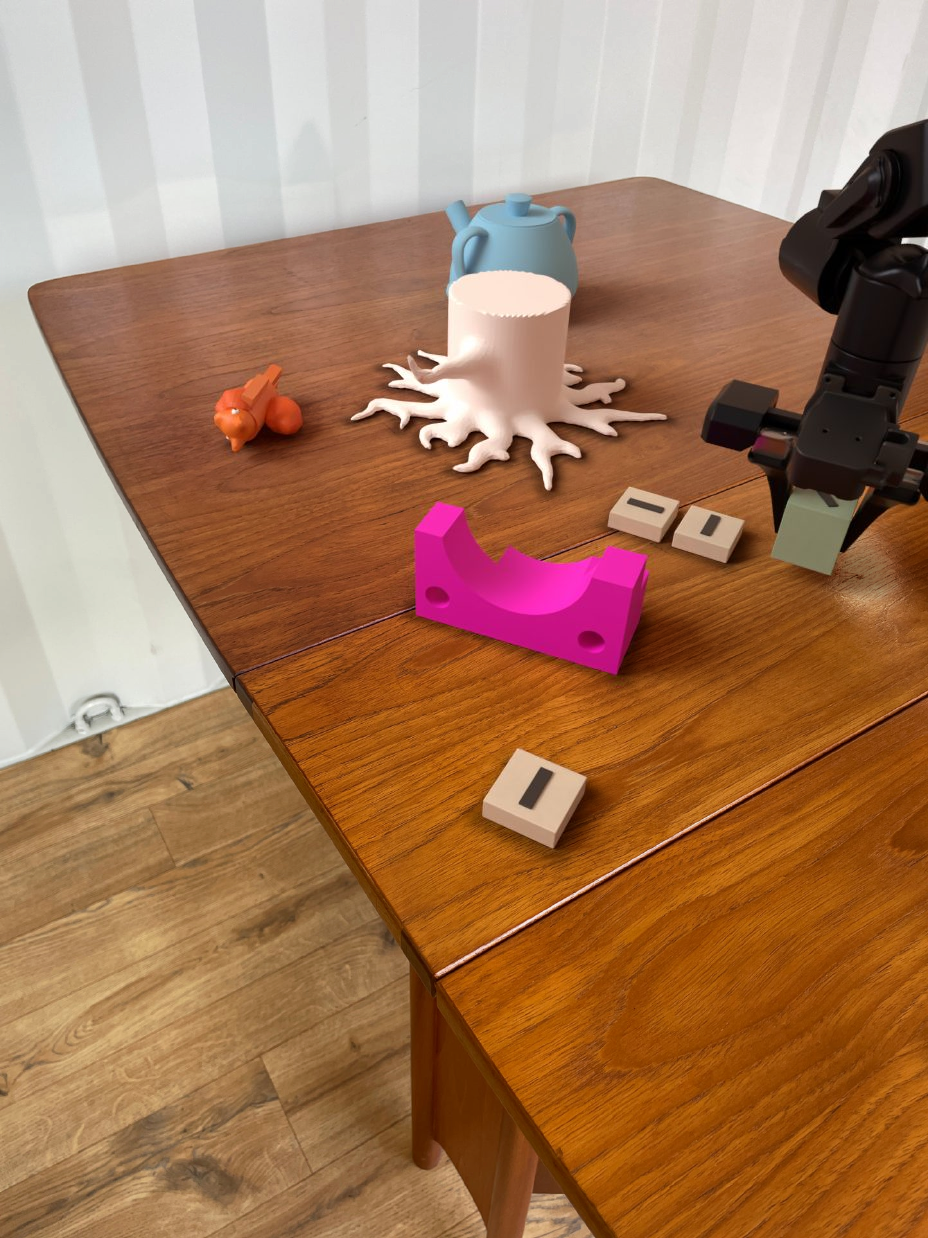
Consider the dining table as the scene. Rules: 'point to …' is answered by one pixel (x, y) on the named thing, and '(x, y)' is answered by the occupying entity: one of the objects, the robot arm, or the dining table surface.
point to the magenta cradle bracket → (529, 593)
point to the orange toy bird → (256, 409)
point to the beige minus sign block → (534, 797)
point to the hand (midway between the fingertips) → (809, 540)
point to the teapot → (514, 240)
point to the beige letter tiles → (693, 534)
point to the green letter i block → (813, 529)
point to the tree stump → (505, 372)
